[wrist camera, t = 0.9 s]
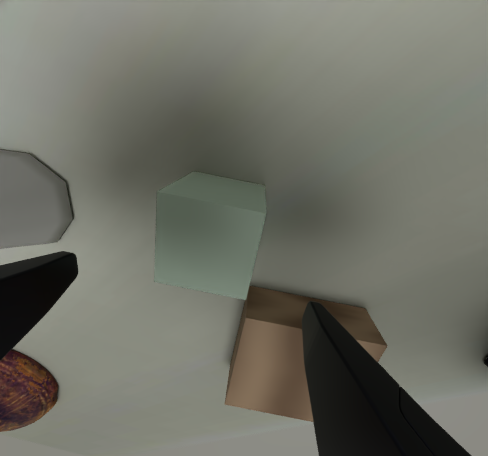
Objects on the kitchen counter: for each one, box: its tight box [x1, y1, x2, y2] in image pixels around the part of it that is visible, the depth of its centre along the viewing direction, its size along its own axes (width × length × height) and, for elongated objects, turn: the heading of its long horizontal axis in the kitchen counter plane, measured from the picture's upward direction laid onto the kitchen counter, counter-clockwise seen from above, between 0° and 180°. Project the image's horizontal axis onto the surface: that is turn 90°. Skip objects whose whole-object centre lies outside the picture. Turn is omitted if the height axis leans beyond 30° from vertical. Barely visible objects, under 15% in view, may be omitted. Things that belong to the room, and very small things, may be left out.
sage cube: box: [154, 171, 266, 300], centre depth 14 cm, size 5×5×6 cm
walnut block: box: [225, 286, 387, 422], centre depth 19 cm, size 10×10×4 cm
